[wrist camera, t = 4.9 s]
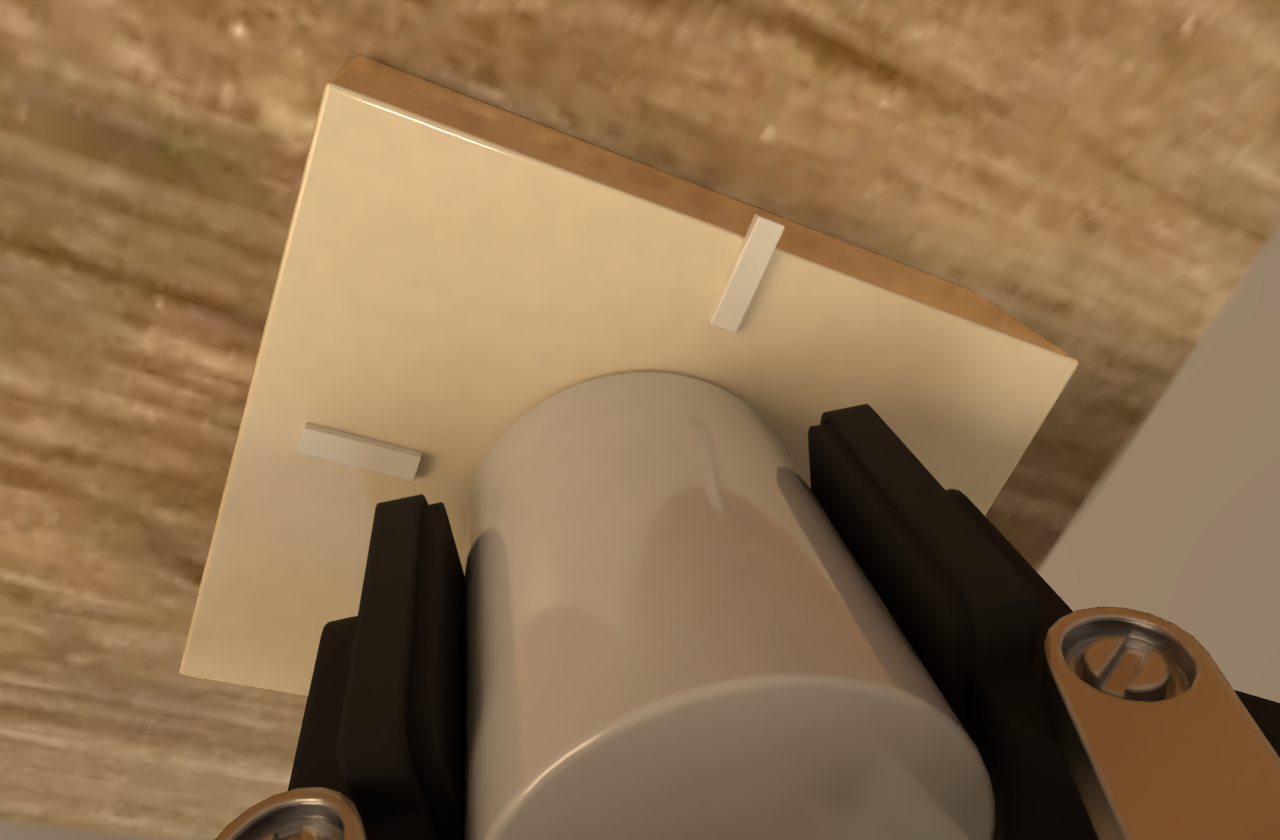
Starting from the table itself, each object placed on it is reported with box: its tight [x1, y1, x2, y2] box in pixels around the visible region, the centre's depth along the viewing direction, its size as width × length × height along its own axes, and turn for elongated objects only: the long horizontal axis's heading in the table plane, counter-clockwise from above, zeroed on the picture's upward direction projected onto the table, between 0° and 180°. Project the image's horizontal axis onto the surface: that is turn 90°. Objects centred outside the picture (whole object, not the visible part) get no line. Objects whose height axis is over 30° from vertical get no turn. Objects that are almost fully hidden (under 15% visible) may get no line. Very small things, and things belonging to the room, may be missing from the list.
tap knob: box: [464, 372, 996, 840], centre depth 10 cm, size 4×4×6 cm
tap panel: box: [179, 55, 1078, 697], centre depth 14 cm, size 10×9×3 cm
